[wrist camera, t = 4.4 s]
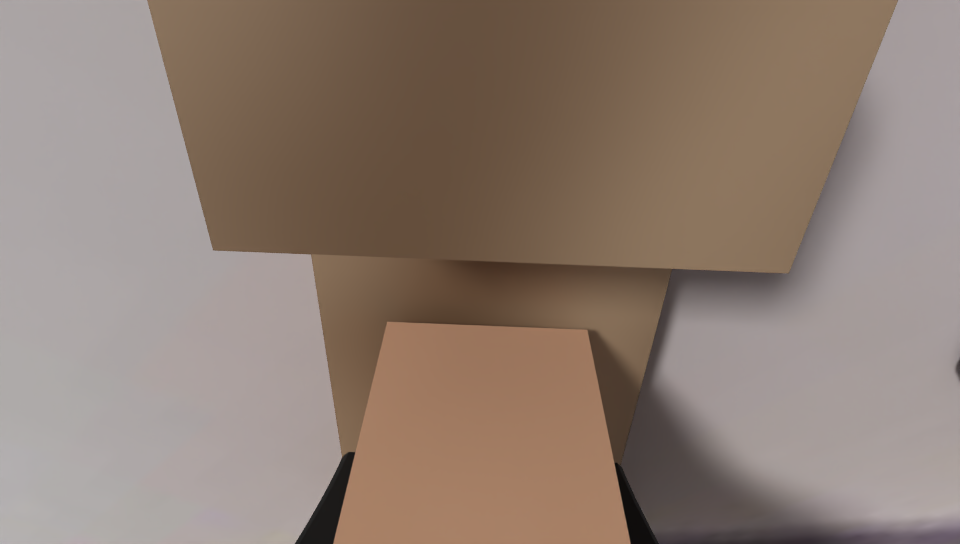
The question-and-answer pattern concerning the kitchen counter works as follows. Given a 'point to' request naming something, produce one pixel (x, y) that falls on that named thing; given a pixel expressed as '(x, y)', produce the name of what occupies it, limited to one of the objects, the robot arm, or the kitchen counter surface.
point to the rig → (512, 155)
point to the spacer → (483, 441)
